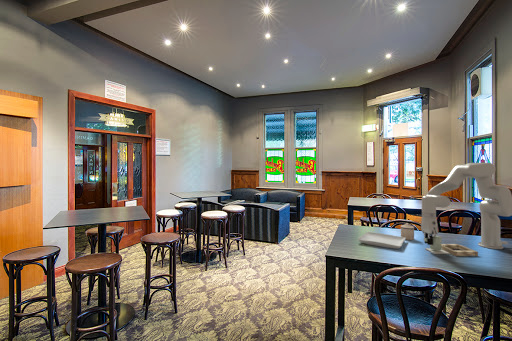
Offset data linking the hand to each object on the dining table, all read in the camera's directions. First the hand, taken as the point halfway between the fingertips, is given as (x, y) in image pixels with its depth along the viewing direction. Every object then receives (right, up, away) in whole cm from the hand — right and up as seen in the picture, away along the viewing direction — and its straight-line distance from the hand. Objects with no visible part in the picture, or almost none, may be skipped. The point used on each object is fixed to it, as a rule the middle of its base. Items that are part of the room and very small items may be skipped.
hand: (428, 243), depth 162 cm
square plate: (-20, -5, +20) cm, 29 cm away
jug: (+2, -3, 0) cm, 4 cm away
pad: (+5, -5, 0) cm, 7 cm away
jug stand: (+17, -5, 0) cm, 18 cm away
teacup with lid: (+4, -5, +31) cm, 32 cm away
